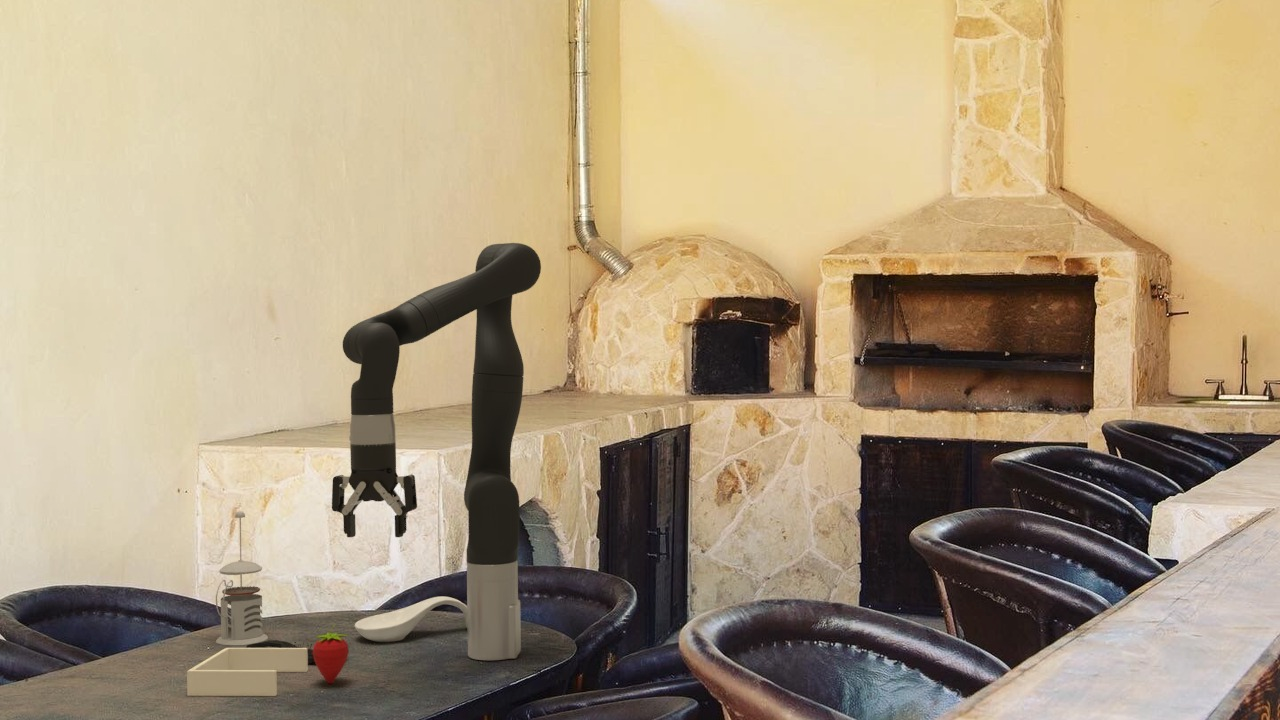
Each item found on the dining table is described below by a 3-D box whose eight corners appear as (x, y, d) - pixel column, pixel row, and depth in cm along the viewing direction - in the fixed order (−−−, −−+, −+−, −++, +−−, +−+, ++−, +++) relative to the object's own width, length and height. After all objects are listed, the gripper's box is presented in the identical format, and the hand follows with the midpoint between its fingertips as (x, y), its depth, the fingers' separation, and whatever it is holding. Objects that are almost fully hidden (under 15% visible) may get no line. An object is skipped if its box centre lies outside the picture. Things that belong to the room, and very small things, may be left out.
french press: (278, 635, 257) (276, 509, 256) (242, 648, 246) (240, 516, 246) (236, 632, 260) (234, 507, 260) (198, 645, 249) (196, 514, 249)
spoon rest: (362, 649, 245) (362, 611, 245) (348, 637, 256) (348, 600, 256) (482, 635, 255) (482, 599, 255) (464, 624, 266) (464, 589, 266)
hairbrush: (265, 630, 250) (357, 638, 237) (266, 649, 250) (358, 658, 236) (229, 638, 244) (322, 647, 230) (230, 658, 243) (323, 668, 230)
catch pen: (307, 670, 228) (307, 647, 228) (275, 696, 211) (274, 671, 211) (226, 670, 229) (226, 647, 229) (187, 695, 212) (187, 671, 212)
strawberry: (347, 676, 223) (346, 618, 223) (350, 687, 216) (349, 627, 216) (312, 679, 222) (311, 620, 222) (313, 690, 215) (313, 629, 215)
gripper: (420, 439, 223) (422, 533, 223) (341, 439, 225) (343, 533, 225) (405, 442, 215) (407, 540, 215) (324, 443, 217) (326, 540, 218)
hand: (375, 536), depth 220 cm, fingers open, 8 cm apart
